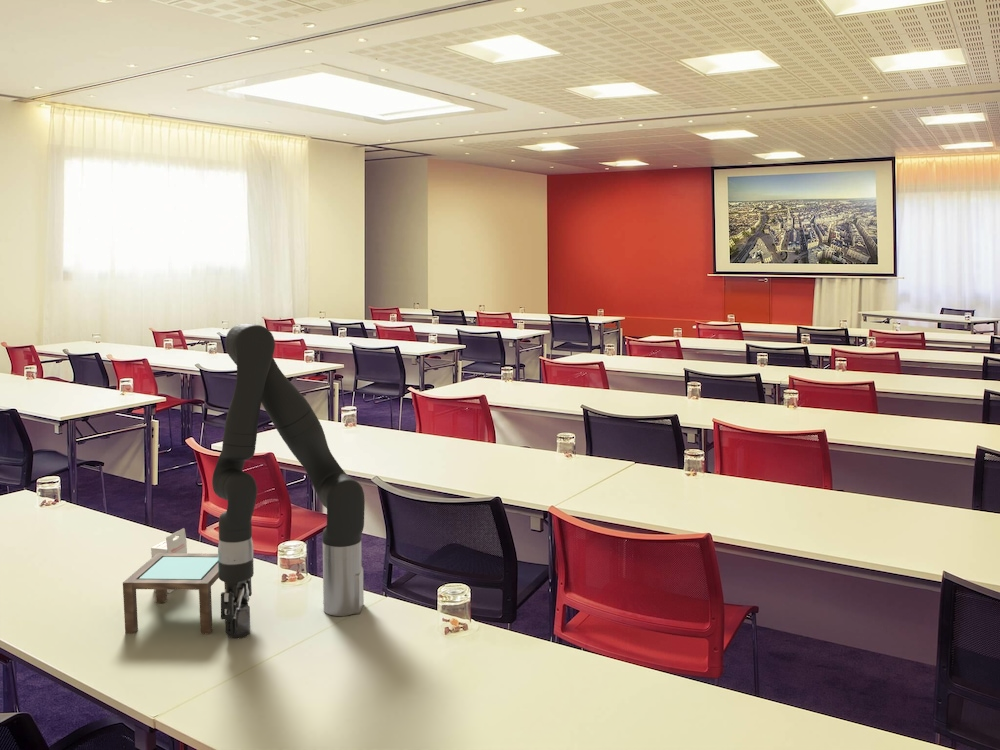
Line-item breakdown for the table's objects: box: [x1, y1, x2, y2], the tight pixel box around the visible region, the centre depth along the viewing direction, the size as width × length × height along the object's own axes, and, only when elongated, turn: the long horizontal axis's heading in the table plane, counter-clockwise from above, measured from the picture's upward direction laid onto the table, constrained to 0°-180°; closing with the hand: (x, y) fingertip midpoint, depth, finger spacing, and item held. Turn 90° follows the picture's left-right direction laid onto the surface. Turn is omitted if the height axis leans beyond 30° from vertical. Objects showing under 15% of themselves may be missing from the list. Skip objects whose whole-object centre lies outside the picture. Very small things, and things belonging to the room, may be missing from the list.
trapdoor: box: [139, 557, 218, 580], centre depth 193 cm, size 14×14×1 cm
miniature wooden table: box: [122, 552, 227, 635], centre depth 194 cm, size 19×19×12 cm
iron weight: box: [226, 604, 251, 640], centre depth 185 cm, size 5×5×6 cm
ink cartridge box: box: [150, 527, 188, 594], centre depth 211 cm, size 9×5×15 cm, turn 168°
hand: (237, 625), depth 185 cm, fingers open, 8 cm apart
